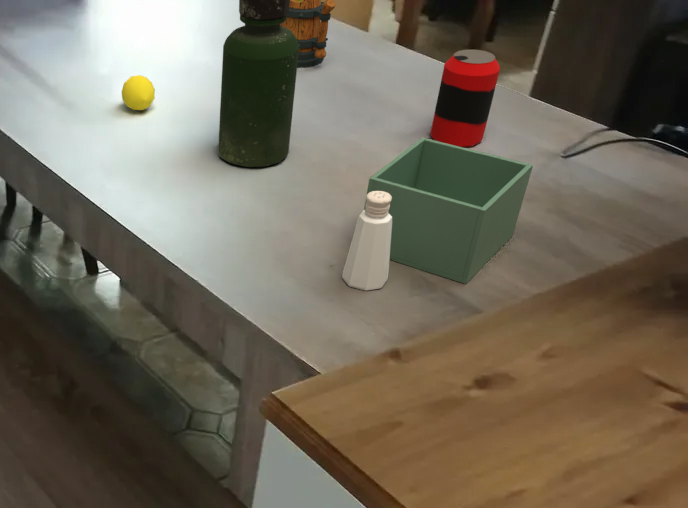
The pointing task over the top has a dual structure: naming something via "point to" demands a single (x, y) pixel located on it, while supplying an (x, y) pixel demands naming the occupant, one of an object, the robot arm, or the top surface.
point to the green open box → (450, 206)
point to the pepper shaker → (370, 245)
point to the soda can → (465, 98)
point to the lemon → (138, 92)
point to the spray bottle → (258, 86)
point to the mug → (309, 28)
